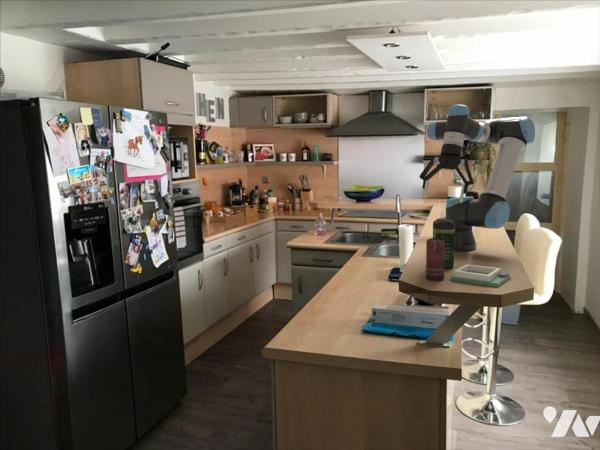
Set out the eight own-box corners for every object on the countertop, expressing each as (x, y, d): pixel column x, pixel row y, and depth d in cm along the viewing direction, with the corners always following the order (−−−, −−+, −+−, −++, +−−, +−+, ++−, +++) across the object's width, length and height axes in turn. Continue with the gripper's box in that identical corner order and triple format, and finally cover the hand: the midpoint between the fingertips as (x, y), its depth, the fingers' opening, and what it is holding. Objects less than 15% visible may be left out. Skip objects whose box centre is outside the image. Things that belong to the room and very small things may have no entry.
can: (426, 281, 169) (427, 241, 167) (425, 276, 175) (425, 237, 173) (445, 281, 168) (445, 241, 166) (443, 276, 174) (443, 238, 172)
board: (464, 271, 180) (465, 263, 180) (510, 277, 170) (510, 268, 170) (450, 280, 169) (450, 271, 169) (497, 287, 159) (498, 277, 159)
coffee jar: (455, 269, 184) (456, 220, 181) (434, 269, 185) (434, 220, 182) (451, 263, 194) (452, 217, 191) (430, 263, 195) (431, 217, 192)
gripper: (418, 140, 190) (408, 193, 189) (485, 145, 178) (475, 202, 177) (422, 145, 197) (412, 197, 196) (487, 150, 185) (477, 205, 184)
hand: (442, 199), depth 186 cm, fingers open, 13 cm apart
